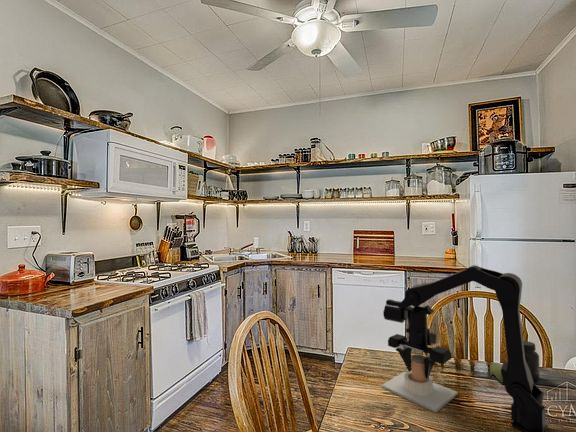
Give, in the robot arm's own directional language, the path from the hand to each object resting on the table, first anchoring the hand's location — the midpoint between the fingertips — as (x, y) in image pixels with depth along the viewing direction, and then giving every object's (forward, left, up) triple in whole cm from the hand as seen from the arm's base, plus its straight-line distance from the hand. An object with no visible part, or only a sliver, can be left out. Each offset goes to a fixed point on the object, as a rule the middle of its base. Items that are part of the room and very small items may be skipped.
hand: (418, 374), depth 103 cm
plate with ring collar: (0, 0, -5) cm, 5 cm away
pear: (-14, -28, -6) cm, 32 cm away
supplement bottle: (-20, -35, -6) cm, 41 cm away
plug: (0, 0, -4) cm, 4 cm away
